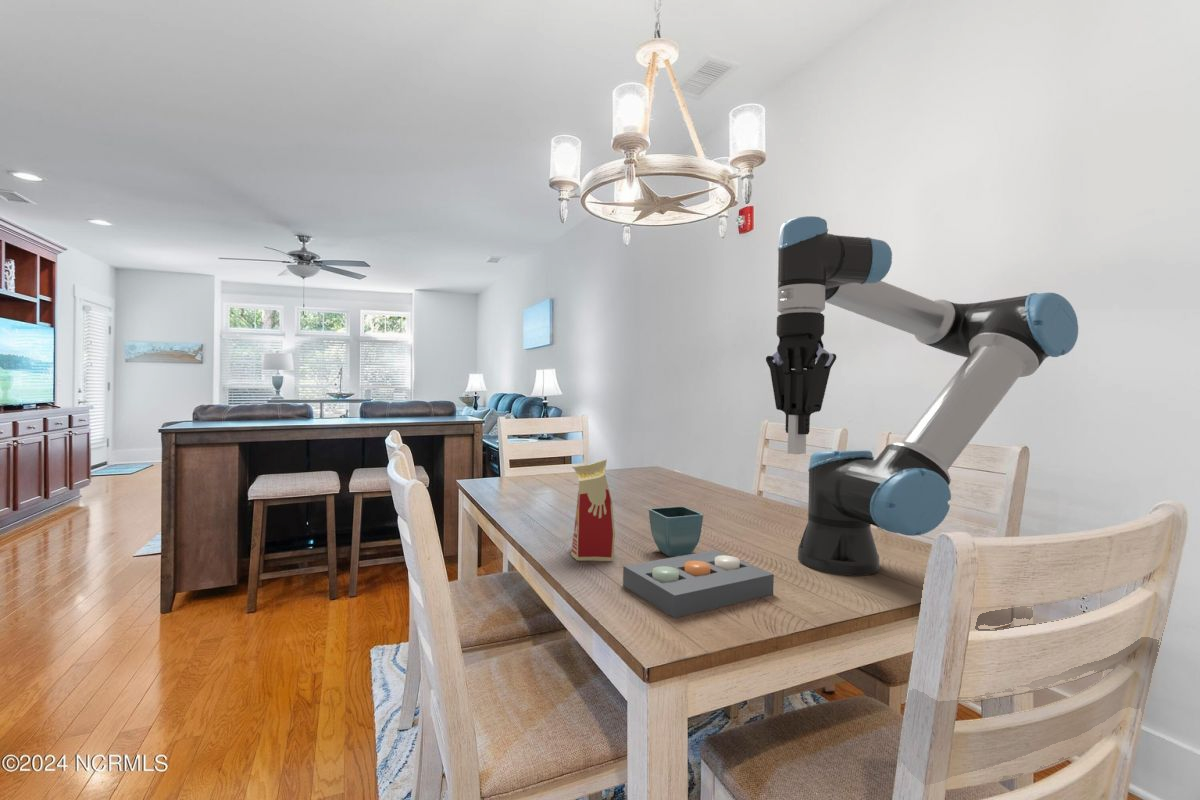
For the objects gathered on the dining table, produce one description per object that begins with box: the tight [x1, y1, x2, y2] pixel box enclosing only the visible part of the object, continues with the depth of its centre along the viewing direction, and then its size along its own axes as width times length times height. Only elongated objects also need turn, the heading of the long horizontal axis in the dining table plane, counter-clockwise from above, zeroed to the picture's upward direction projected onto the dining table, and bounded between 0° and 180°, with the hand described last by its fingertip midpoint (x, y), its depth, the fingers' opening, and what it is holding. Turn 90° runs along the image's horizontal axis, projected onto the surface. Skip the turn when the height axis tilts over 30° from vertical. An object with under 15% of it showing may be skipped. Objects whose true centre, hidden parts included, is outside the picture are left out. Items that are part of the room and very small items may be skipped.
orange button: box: [685, 561, 710, 577], centre depth 94 cm, size 4×4×3 cm
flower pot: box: [648, 505, 704, 558], centre depth 114 cm, size 9×9×9 cm
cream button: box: [715, 554, 741, 571], centre depth 97 cm, size 4×4×3 cm
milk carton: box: [570, 458, 616, 562], centre depth 113 cm, size 9×9×20 cm
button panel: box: [622, 549, 775, 619], centre depth 94 cm, size 21×15×4 cm
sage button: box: [652, 566, 679, 583], centre depth 91 cm, size 4×4×3 cm
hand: (796, 453), depth 91 cm, fingers closed
